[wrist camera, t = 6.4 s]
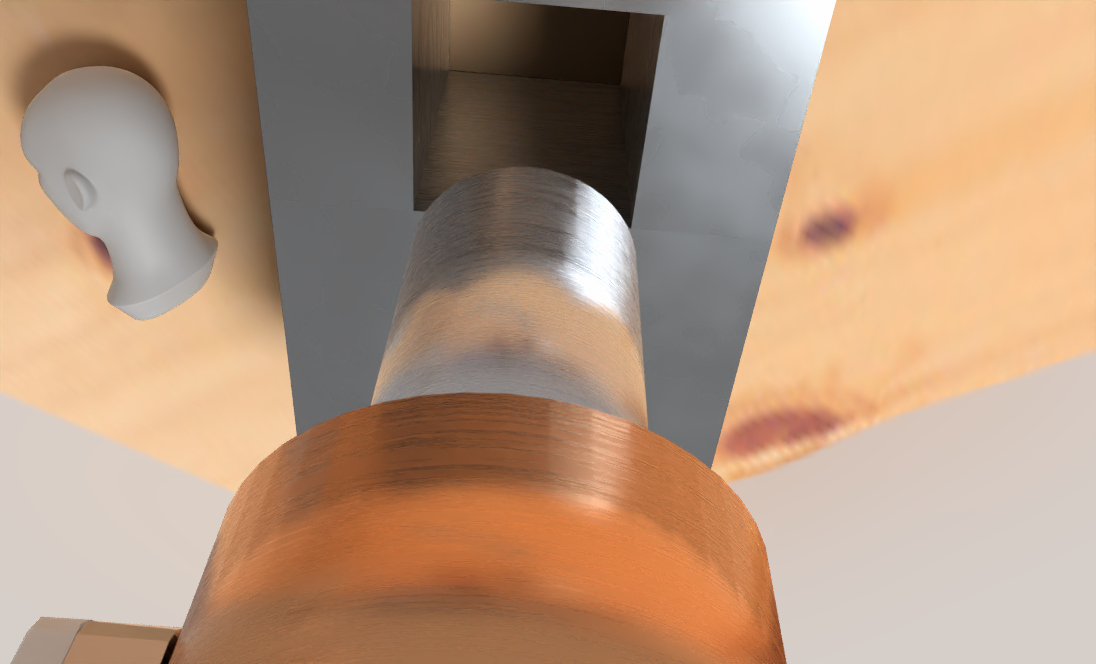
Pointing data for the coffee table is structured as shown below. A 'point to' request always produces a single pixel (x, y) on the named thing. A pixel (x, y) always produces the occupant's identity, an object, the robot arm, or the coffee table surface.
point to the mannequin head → (119, 183)
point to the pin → (493, 476)
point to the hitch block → (541, 142)
